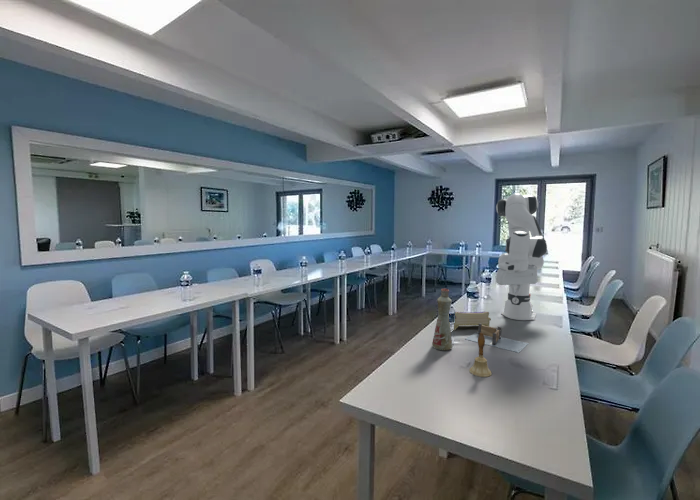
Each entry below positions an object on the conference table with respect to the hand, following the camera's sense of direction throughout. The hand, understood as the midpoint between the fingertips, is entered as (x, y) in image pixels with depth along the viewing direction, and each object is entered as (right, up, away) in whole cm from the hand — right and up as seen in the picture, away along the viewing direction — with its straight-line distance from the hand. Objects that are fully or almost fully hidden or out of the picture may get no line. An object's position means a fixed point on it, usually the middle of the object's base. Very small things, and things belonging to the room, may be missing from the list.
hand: (515, 293), depth 175 cm
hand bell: (-30, -27, -34) cm, 53 cm away
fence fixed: (-11, -23, +6) cm, 26 cm away
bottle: (-38, -24, -9) cm, 46 cm away
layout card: (-10, -23, -1) cm, 25 cm away
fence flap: (-11, -23, -2) cm, 26 cm away
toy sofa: (-16, -22, +20) cm, 34 cm away
